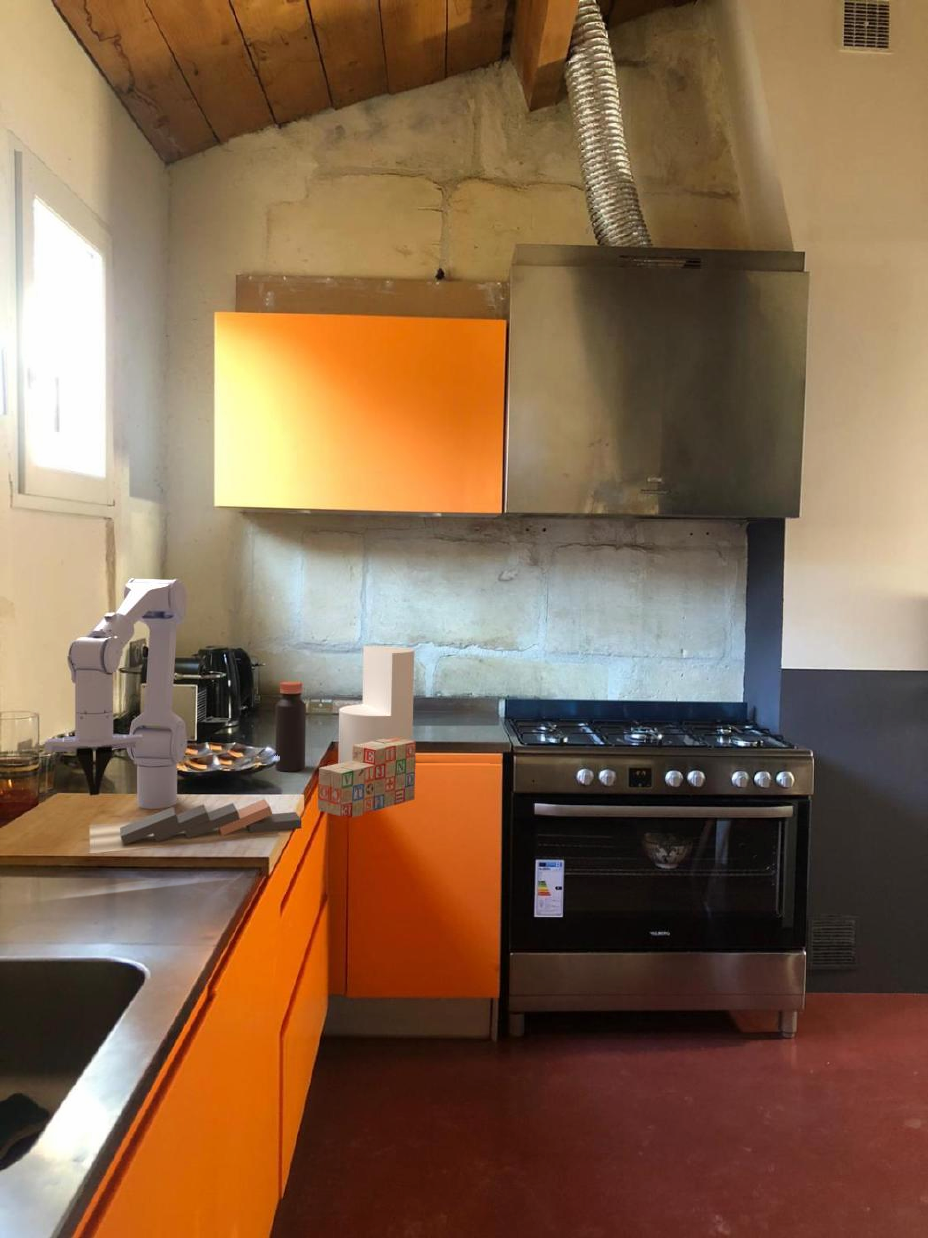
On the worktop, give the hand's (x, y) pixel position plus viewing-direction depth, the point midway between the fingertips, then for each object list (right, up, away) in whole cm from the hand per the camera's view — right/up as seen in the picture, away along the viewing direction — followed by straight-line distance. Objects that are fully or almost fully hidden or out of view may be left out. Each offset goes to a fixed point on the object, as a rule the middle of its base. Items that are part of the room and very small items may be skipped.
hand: (94, 793), depth 144 cm
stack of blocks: (+41, -9, +30) cm, 52 cm away
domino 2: (+8, -8, +4) cm, 12 cm away
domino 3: (+13, -8, +6) cm, 16 cm away
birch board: (+12, -9, +9) cm, 17 cm away
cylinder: (+40, -7, +63) cm, 75 cm away
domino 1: (+4, -8, +2) cm, 9 cm away
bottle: (+20, -6, +60) cm, 64 cm away
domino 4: (+18, -8, +8) cm, 21 cm away
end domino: (+22, -8, +10) cm, 26 cm away
